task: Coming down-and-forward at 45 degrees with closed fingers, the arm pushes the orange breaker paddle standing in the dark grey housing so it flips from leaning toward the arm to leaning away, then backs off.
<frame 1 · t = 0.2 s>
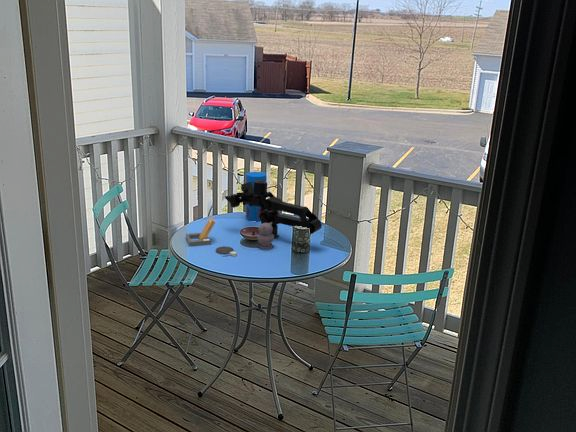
hand: (231, 195, 285), 16 cm above the table, tool horizontal, fingers open, 9 cm apart
breaker paddle: (207, 229, 266), point 7 cm above the table, hinge at -30.0°
ping pong paddle: (224, 252, 257), on the table
thermos: (255, 219, 302), on the table
breaker housing: (200, 242, 267), on the table
cat figurine: (265, 247, 265), on the table
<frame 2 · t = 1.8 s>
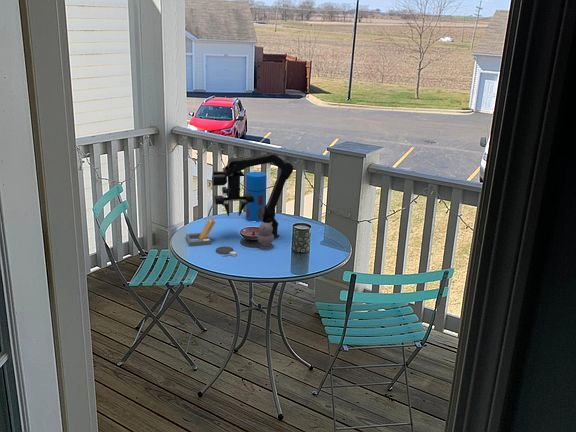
hand: (233, 215, 269), 12 cm above the table, tool pointing down, fingers open, 5 cm apart
nothing on the table moved.
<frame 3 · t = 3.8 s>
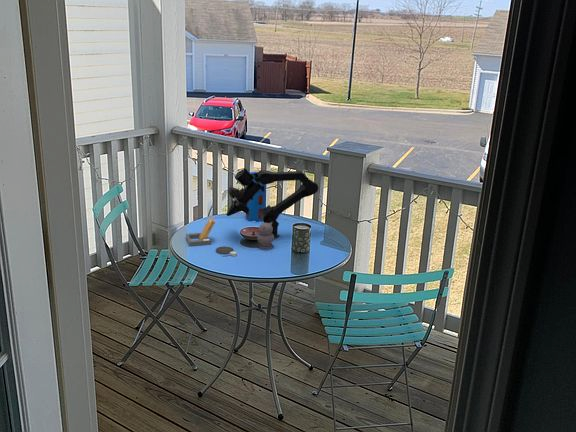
hand: (227, 215, 267), 13 cm above the table, tool tilted 45°, fingers closed
nothing on the table moved.
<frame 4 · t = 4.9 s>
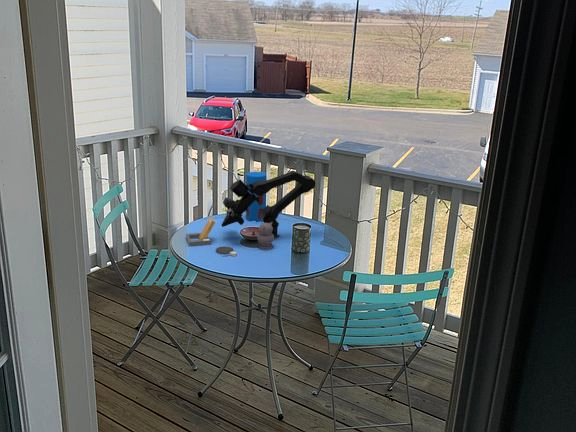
hand: (222, 226, 268), 8 cm above the table, tool tilted 45°, fingers closed
nothing on the table moved.
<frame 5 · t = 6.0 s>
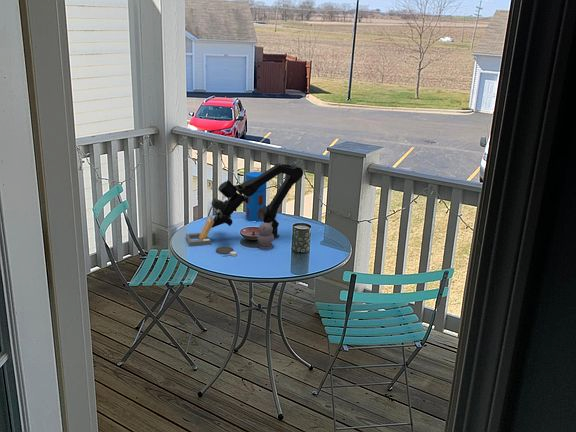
hand: (210, 227, 266), 8 cm above the table, tool tilted 45°, fingers closed, pressing on breaker paddle
breaker paddle: (206, 229, 266), point 7 cm above the table, hinge at -27.2°, touching gripper
everything else where it was.
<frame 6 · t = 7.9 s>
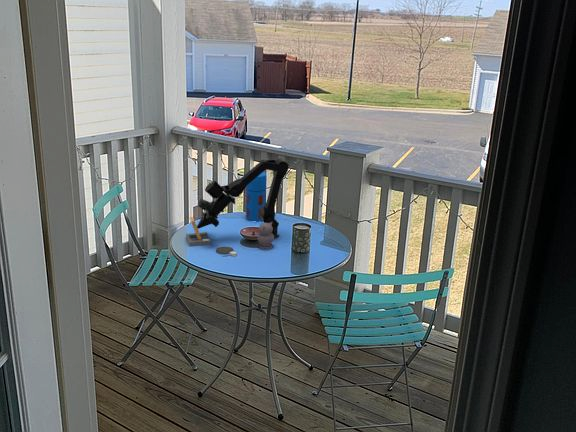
hand: (197, 227, 264), 8 cm above the table, tool tilted 45°, fingers closed, pressing on breaker paddle
breaker paddle: (195, 229, 264), point 7 cm above the table, hinge at 19.1°, touching gripper
everything else where it was.
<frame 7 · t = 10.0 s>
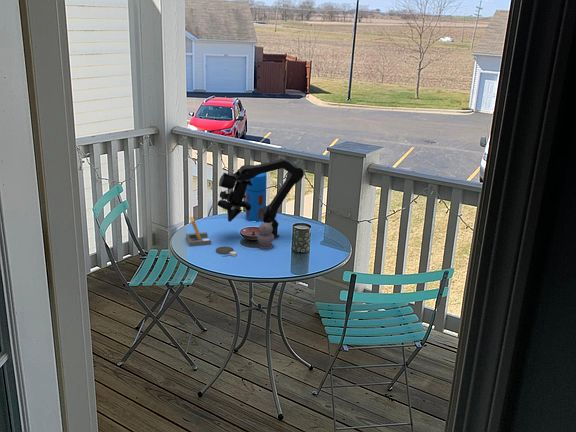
hand: (229, 221, 269), 10 cm above the table, tool tilted 20°, fingers closed
breaker paddle: (195, 229, 264), point 7 cm above the table, hinge at 19.1°
everything else where it was.
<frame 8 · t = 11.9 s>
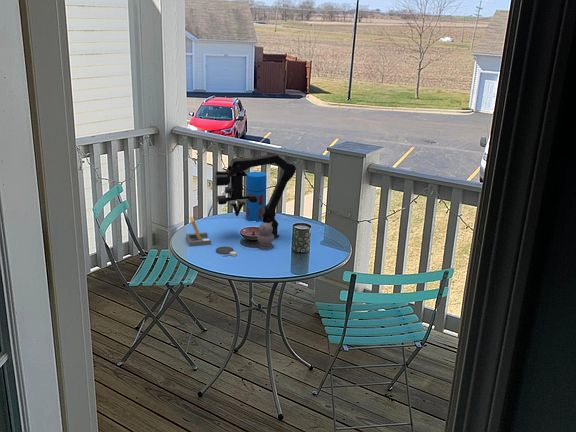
hand: (236, 215, 270), 12 cm above the table, tool pointing down, fingers closed
nothing on the table moved.
at the end: breaker paddle at +19° (first picture: -30°) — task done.
